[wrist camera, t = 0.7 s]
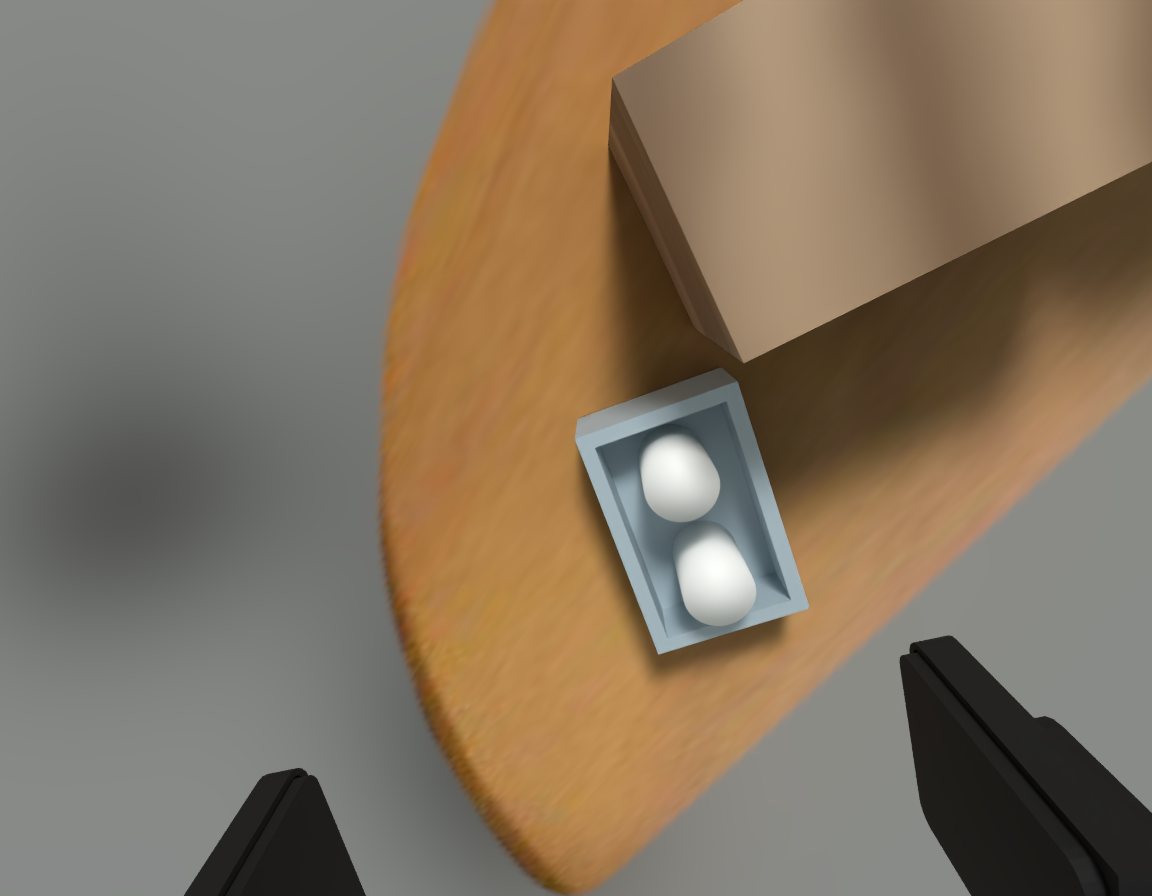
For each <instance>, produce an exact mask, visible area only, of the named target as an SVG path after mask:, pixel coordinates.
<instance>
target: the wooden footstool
mask: <svg viewBox="0 0 1152 896" xmlns="http://www.w3.org/2000/svg"><path fill="white" fill-rule="evenodd" d="M608 146H609V148H610V150H611V152H612V154H613V157H614V159H615V161H616V163H617V165H618V167H619V169H620V171H621V174H622V176H623V178H624V180H625V182H626V184H627V186H628V188H629V191H630V193H631V195H632V197H633V199H634V201H635V203H636V205H637V207H638V210H639V212H640V214H641V216H642V218H643V220H644V222H645V224H646V227H647V229H648V231H649V233H650V235H651V237H652V239H653V241H654V244H655V246H656V248H657V250H658V252H659V254H660V256H661V258H662V260H663V263H664V265H665V267H666V269H667V271H668V273H669V275H670V277H671V280H672V282H673V284H674V286H675V288H676V290H677V292H678V294H679V297H680V299H681V301H682V303H683V305H684V307H685V309H686V311H687V313H688V316H689V318H690V320H691V322H692V324H693V326H694V328H695V329H696V330H697V331H699V332H700V333H701V334H703V335H704V336H706V337H707V338H708V339H710V340H711V341H713V342H714V343H716V344H717V345H718V346H720V347H721V348H723V349H724V350H725V351H727V352H728V353H730V354H731V355H733V356H734V357H735V358H737V359H738V360H740V361H741V362H742V363H746V362H748V361H750V360H752V359H754V358H756V357H758V356H760V355H762V354H764V353H766V352H768V351H770V350H772V349H774V348H776V347H778V346H780V345H782V344H784V343H786V342H788V341H790V340H792V339H794V338H796V337H798V336H800V335H802V334H804V333H806V332H808V331H810V330H812V329H814V328H816V327H818V326H820V325H823V324H825V323H827V322H829V321H831V320H833V319H835V318H837V317H839V316H841V315H843V314H845V313H847V312H849V311H851V310H853V309H855V308H857V307H859V306H861V305H863V304H865V303H867V302H869V301H871V300H873V299H875V298H877V297H879V296H881V295H883V294H885V293H887V292H889V291H891V290H893V289H895V288H897V287H899V286H901V285H903V284H905V283H907V282H909V281H912V280H914V279H916V278H918V277H920V276H922V275H924V274H926V273H928V272H930V271H932V270H934V269H936V268H938V267H940V266H942V265H944V264H946V263H948V262H950V261H952V260H954V259H956V258H958V257H960V256H962V255H964V254H966V253H968V252H970V251H972V250H974V249H976V248H978V247H980V246H982V245H984V244H986V243H988V242H990V241H992V240H994V239H996V238H998V237H1001V236H1003V235H1005V234H1007V233H1009V232H1011V231H1013V230H1015V229H1017V228H1019V227H1021V226H1023V225H1025V224H1027V223H1029V222H1031V221H1033V220H1035V219H1037V218H1039V217H1041V216H1043V215H1045V214H1047V213H1049V212H1051V211H1053V210H1055V209H1057V208H1059V207H1061V206H1063V205H1065V204H1067V203H1069V202H1071V201H1073V200H1075V199H1077V198H1079V197H1081V196H1083V195H1085V194H1087V193H1089V192H1092V191H1094V190H1096V189H1098V188H1100V187H1102V186H1104V185H1106V184H1108V183H1110V182H1112V181H1114V180H1116V179H1118V178H1120V177H1122V176H1124V175H1126V174H1128V173H1130V172H1132V171H1134V170H1136V169H1138V168H1140V167H1142V166H1144V165H1146V164H1148V163H1150V162H1152V0H744V1H742V2H740V3H739V4H737V5H735V6H733V7H732V8H730V9H728V10H727V11H725V12H723V13H721V14H720V15H718V16H716V17H715V18H713V19H711V20H710V21H708V22H706V23H704V24H703V25H701V26H699V27H698V28H696V29H694V30H692V31H691V32H689V33H687V34H686V35H684V36H682V37H680V38H679V39H677V40H675V41H674V42H672V43H670V44H668V45H667V46H665V47H663V48H662V49H660V50H658V51H657V52H655V53H653V54H651V55H650V56H648V57H646V58H645V59H643V60H641V61H639V62H638V63H636V64H634V65H633V66H631V67H629V68H627V69H626V70H624V71H622V72H621V73H619V74H617V75H615V76H614V77H612V90H611V107H610V124H609V141H608Z"/></svg>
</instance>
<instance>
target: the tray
mask: <svg viewBox="0 0 1152 896" xmlns="http://www.w3.org/2000/svg"><path fill="white" fill-rule="evenodd" d="M575 441H576V443H577V446H578V449H579V451H580V454H581V456H582V459H583V461H584V464H585V467H586V469H587V472H588V474H589V477H590V479H591V482H592V485H593V487H594V490H595V492H596V495H597V497H598V500H599V503H600V505H601V508H602V510H603V513H604V516H605V518H606V521H607V523H608V526H609V528H610V531H611V534H612V536H613V539H614V541H615V544H616V546H617V549H618V552H619V554H620V557H621V559H622V562H623V564H624V567H625V570H626V572H627V575H628V577H629V580H630V583H631V585H632V588H633V590H634V593H635V595H636V598H637V601H638V603H639V606H640V608H641V611H642V613H643V616H644V619H645V621H646V624H647V626H648V629H649V631H650V634H651V637H652V639H653V642H654V644H655V647H656V650H657V652H658V655H659V654H662V653H665V652H669V651H672V650H675V649H679V648H682V647H685V646H688V645H692V644H695V643H698V642H701V641H705V640H708V639H711V638H714V637H718V636H721V635H724V634H727V633H731V632H734V631H737V630H740V629H744V628H747V627H750V626H754V625H757V624H760V623H763V622H767V621H770V620H773V619H776V618H780V617H783V616H786V615H789V614H793V613H796V612H799V611H802V610H806V609H809V605H808V602H807V599H806V595H805V592H804V589H803V586H802V583H801V580H800V576H799V573H798V570H797V567H796V564H795V561H794V558H793V554H792V551H791V548H790V545H789V542H788V539H787V536H786V532H785V529H784V526H783V523H782V520H781V517H780V513H779V510H778V507H777V504H776V501H775V498H774V495H773V491H772V488H771V485H770V482H769V479H768V476H767V473H766V469H765V466H764V463H763V460H762V457H761V454H760V450H759V447H758V444H757V441H756V438H755V435H754V432H753V428H752V425H751V422H750V419H749V416H748V413H747V410H746V406H745V403H744V400H743V397H742V394H741V391H740V388H739V384H738V381H737V380H736V379H734V378H733V377H732V376H731V375H730V374H729V373H728V372H726V371H725V370H724V369H723V368H722V367H720V368H717V369H715V370H712V371H709V372H706V373H703V374H701V375H698V376H695V377H692V378H690V379H687V380H684V381H681V382H678V383H676V384H673V385H670V386H667V387H664V388H662V389H659V390H656V391H653V392H651V393H648V394H645V395H642V396H639V397H637V398H634V399H631V400H628V401H626V402H623V403H620V404H617V405H614V406H612V407H609V408H606V409H603V410H600V411H598V412H595V413H592V414H589V415H587V416H584V417H581V418H578V421H577V428H576V434H575Z"/></svg>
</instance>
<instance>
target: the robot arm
mask: <svg viewBox="0 0 1152 896" xmlns="http://www.w3.org/2000/svg"><path fill="white" fill-rule="evenodd" d="M900 669H901V675H902V683H903V689H904V696H905V702H906V710H907V717H908V723H909V730H910V737H911V743H912V750H913V757H914V764H915V771H916V778H917V785H918V791H919V797H920V803H921V806H922V810H923V813H924V815H925V818H926V820H927V822H928V824H929V826H930V828H931V830H932V831H933V833H934V835H935V837H936V838H937V840H938V841H939V843H940V845H941V846H942V848H943V850H944V851H945V853H946V855H947V856H948V858H949V860H950V861H951V863H952V865H953V866H954V868H955V870H956V871H957V873H958V875H959V876H960V877H961V879H962V881H963V883H964V884H965V886H966V888H967V889H968V891H969V893H970V894H971V896H1152V813H1151V812H1150V811H1149V810H1148V809H1147V808H1146V807H1145V806H1144V805H1143V804H1142V803H1141V802H1140V801H1139V800H1138V799H1137V798H1136V797H1135V796H1134V795H1133V794H1132V793H1130V792H1129V791H1128V790H1127V789H1126V788H1125V787H1124V786H1123V785H1122V784H1121V783H1120V782H1119V781H1118V780H1117V779H1116V778H1115V777H1114V776H1113V775H1112V774H1111V773H1110V772H1109V771H1108V770H1107V769H1106V768H1105V767H1104V766H1103V765H1102V764H1101V763H1100V762H1098V760H1096V758H1095V757H1093V756H1092V755H1091V754H1090V753H1089V752H1088V751H1087V750H1086V749H1085V748H1084V747H1083V746H1082V745H1081V744H1080V743H1079V742H1078V741H1077V740H1076V739H1075V738H1074V737H1073V736H1072V735H1071V734H1070V733H1069V732H1068V731H1067V730H1066V729H1065V728H1064V727H1062V726H1061V725H1060V724H1059V723H1057V722H1056V721H1055V720H1054V719H1051V718H1049V717H1046V716H1043V717H1039V718H1033V717H1032V716H1031V715H1030V714H1029V713H1028V712H1027V711H1026V710H1025V709H1024V708H1023V707H1022V706H1021V705H1020V703H1018V702H1017V700H1015V698H1014V697H1012V695H1011V694H1009V692H1008V691H1007V690H1006V689H1005V688H1004V687H1003V686H1002V685H1001V684H1000V683H999V682H998V681H997V680H996V679H995V678H994V677H993V676H992V675H991V674H990V673H989V672H988V671H987V670H986V669H985V668H984V667H983V666H982V665H981V664H980V663H979V662H978V661H977V660H976V659H975V658H974V657H973V656H972V655H971V654H970V653H969V652H968V651H967V650H966V649H965V648H964V647H963V646H962V645H961V644H960V643H959V642H958V641H957V640H956V639H955V638H954V637H952V636H943V637H939V638H934V639H929V640H924V641H919V642H914V643H912V644H911V645H910V654H907V655H902V656H901V657H900ZM184 896H366V895H365V893H364V890H363V888H362V885H361V883H360V881H359V878H358V876H357V873H356V871H355V869H354V866H353V864H352V861H351V859H350V856H349V854H348V852H347V850H346V847H345V844H344V842H343V840H342V837H341V835H340V832H339V830H338V828H337V825H336V823H335V820H334V818H333V815H332V813H331V811H330V808H329V806H328V803H327V801H326V799H325V796H324V794H323V791H322V789H321V787H320V784H319V782H318V780H317V778H316V777H314V776H312V775H309V776H308V774H307V772H306V771H304V770H303V769H301V768H296V769H291V770H286V771H281V772H276V773H271V774H267V775H265V776H263V777H262V778H261V779H260V780H259V781H258V782H257V784H256V786H255V787H254V789H253V790H252V792H251V793H250V795H249V796H248V798H247V799H246V801H245V802H244V804H243V806H242V807H241V809H240V810H239V812H238V813H237V815H236V816H235V818H234V819H233V821H232V823H231V824H230V825H229V827H228V829H227V830H226V832H225V833H224V835H223V836H222V838H221V840H220V841H219V843H218V844H217V846H216V847H215V849H214V850H213V852H212V853H211V855H210V856H209V858H208V859H207V861H206V862H205V864H204V866H203V867H202V868H201V870H200V872H199V873H198V875H197V876H196V878H195V879H194V881H193V882H192V884H191V885H190V887H189V888H188V890H187V892H186V893H185V895H184Z"/></svg>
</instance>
